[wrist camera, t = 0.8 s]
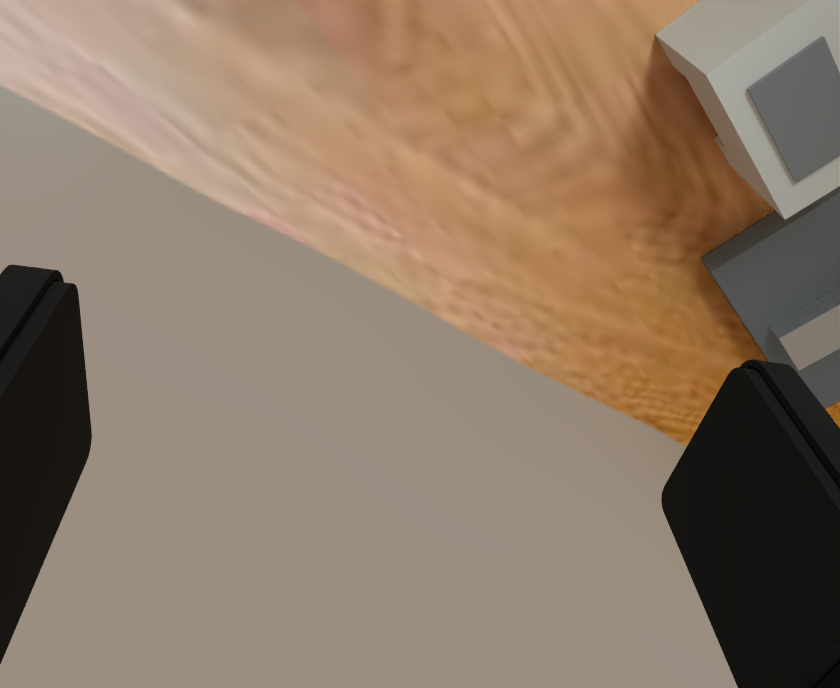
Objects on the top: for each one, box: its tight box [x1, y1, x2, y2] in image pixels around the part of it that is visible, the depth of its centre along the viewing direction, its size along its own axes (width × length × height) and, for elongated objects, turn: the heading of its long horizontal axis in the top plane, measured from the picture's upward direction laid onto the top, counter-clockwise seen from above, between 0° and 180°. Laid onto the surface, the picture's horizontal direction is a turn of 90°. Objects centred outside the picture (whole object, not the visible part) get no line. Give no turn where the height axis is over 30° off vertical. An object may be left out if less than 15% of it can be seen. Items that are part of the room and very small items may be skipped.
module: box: [655, 0, 840, 220], centre depth 31 cm, size 5×8×6 cm, turn 39°
